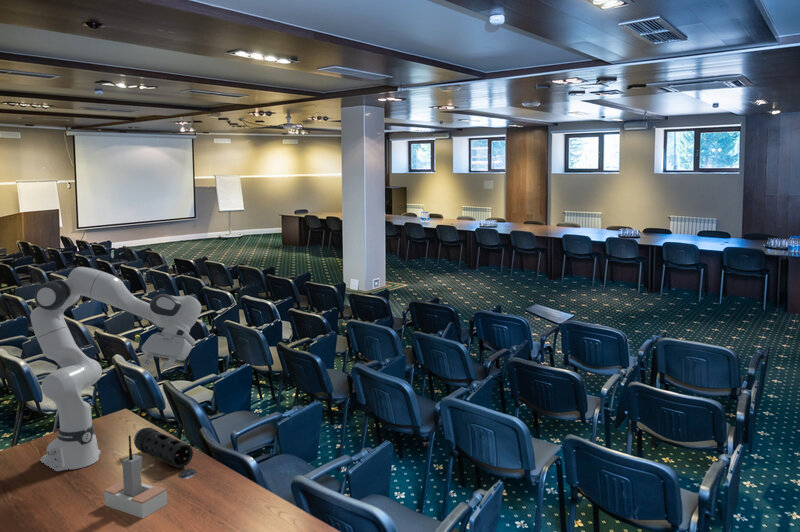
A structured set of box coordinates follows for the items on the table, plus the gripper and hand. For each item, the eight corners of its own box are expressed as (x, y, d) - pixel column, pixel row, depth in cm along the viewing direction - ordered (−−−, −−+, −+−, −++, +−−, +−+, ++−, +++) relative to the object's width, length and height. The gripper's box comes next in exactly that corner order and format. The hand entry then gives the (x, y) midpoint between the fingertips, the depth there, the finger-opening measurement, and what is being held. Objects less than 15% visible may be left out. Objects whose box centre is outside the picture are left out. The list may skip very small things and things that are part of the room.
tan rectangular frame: (105, 505, 208) (104, 489, 207) (129, 492, 217) (128, 477, 216) (143, 518, 200) (142, 502, 199) (167, 504, 209) (166, 488, 208)
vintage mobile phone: (144, 502, 210) (140, 432, 206) (133, 510, 205) (129, 438, 202) (135, 501, 211) (131, 431, 208) (124, 508, 206) (120, 436, 203)
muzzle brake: (172, 474, 230) (171, 448, 229) (132, 454, 247) (130, 430, 246) (194, 465, 238) (193, 440, 236) (154, 447, 255) (153, 423, 253)
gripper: (149, 327, 235) (129, 358, 228) (189, 333, 226) (170, 365, 219) (159, 336, 240) (140, 366, 233) (198, 342, 231) (180, 374, 224)
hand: (154, 366), depth 226 cm, fingers open, 8 cm apart
